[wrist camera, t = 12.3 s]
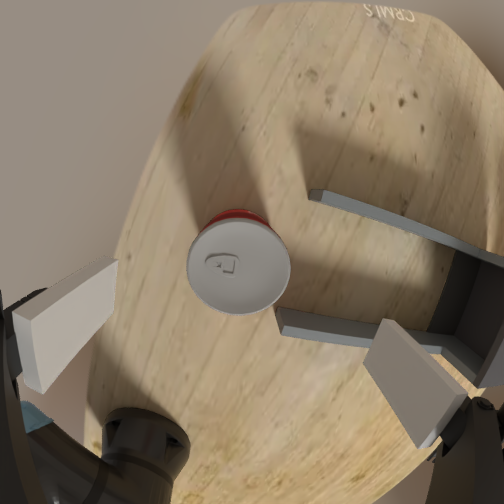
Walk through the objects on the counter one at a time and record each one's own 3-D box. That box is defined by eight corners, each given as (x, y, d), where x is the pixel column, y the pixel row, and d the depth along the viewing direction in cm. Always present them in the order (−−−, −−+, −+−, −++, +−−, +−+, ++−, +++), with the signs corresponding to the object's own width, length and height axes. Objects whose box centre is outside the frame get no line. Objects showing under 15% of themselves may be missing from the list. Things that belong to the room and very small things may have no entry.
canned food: (198, 212, 31) (178, 224, 21) (271, 205, 31) (288, 213, 21) (207, 279, 33) (193, 321, 22) (276, 272, 33) (294, 311, 22)
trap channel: (275, 315, 34) (296, 389, 20) (311, 189, 31) (364, 191, 17) (453, 341, 37) (504, 384, 24) (486, 254, 34) (549, 278, 20)
